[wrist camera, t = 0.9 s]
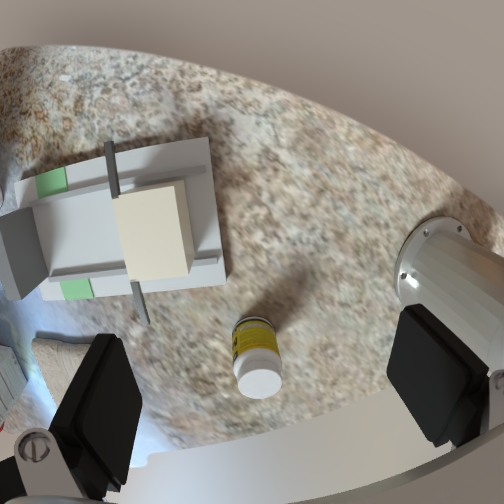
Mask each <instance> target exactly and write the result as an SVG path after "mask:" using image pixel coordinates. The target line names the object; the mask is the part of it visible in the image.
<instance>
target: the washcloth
mask: <svg viewBox="0 0 504 504" xmlns="http://www.w3.org/2000/svg"><path fill="white" fill-rule="evenodd" d="M90 346H91V344H69V343H64V342H62V341H58V340H52V339H51V340H50V339H43V338H34V339H33V340H32V350H33V352H34V355H35V358H36V360H37V363H38V366H39V367H40V371H41V372H42V375H43V377H44V380H45V382H46V385H47V387H48V389H49V391H50V394H51V395H52V397H53V399H54V401H55V403H56V405H57V407H59V405H60V403H61V401H62V399H63V397H64V395H65V393H66V391H67V389H68V387H69V385H70V383H71V381H72V379H73V377H74V375H75V373H76V371H77V369H78V368H79V366H80V364H81V362H82V360H83V358H84V356H85V355H86V353H87V351H88V349H89V347H90Z"/></svg>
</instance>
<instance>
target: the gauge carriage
mask: <svg viewBox="0 0 504 504" xmlns="http://www.w3.org/2000/svg"><path fill="white" fill-rule="evenodd" d="M104 150H105V158H106V165H107V172H108V179H109V186H110V192H111V198H112V203H113V209H114V214H115V219H116V224H117V229H118V234H119V239H120V243H121V248H122V252H123V256H124V261H125V265H126V269H127V273H128V277H129V281H130V284H131V288H132V292H133V295H134V299H135V302H136V306H137V309H138V313H139V316H140V319H141V323H142V326H148V325H149V324H150V319H149V316H148V312H147V309H146V305H145V301H144V298H143V294H142V290H141V286H140V282H139V281H145V280H154V279H164V278H173V277H182V276H189V273H190V270H191V267H192V263H193V260H194V257H195V250H194V244H193V238H192V232H191V225H190V219H189V212H188V205H187V198H186V191H185V184H184V180H178V181H171V182H165V183H159V184H153V185H147V186H141V187H136V188H131V189H128V190H126V191H124V192H121V191H120V185H119V179H118V172H117V165H116V157H115V149H114V141H108V142H104Z"/></svg>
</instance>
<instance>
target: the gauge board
mask: <svg viewBox="0 0 504 504" xmlns="http://www.w3.org/2000/svg"><path fill="white" fill-rule="evenodd" d="M115 157H116V165H117V172H118V179H119V185H120V191H121V192H124V191H126V190H128V189H131V188H136V187H141V186H147V185H153V184H159V183H165V182H171V181H178V180H184V184H185V191H186V198H187V205H188V212H189V219H190V225H191V232H192V238H193V244H194V250H195V257H194V260H193V263H192V267H191V270H190V273H189V276H182V277H173V278H164V279H154V280H145V281H139V282H140V286H141V290H142V293H147V292H157V291H167V290H177V289H187V288H196V287H205V286H214V285H223V284H227V278H226V271H225V264H224V257H223V249H222V242H221V235H220V227H219V219H218V212H217V204H216V196H215V188H214V180H213V171H212V163H211V154H210V145H209V137H202V138H195V139H188V140H182V141H176V142H170V143H164V144H159V145H153V146H148V147H143V148H138V149H133V150H129V151H124V152H119V153H115ZM14 187H15V193H16V199H17V204H18V210H16V211H13V212H11V213H8V214H6V215H3V216H1V217H0V280H1V283H2V286H3V289H4V291H5V294H6V297H7V300H8V301H14V300H22V299H23V298H24V297H25V296H27V295H28V294H29V293H30V292H31V291H32V290H33V289H35V288H36V287H37V286H38V285H39V288H40V291H41V294H42V296H43V299H44V301H50V300H64V299H65V300H75V299H88V298H94V297H103V296H114V295H126V294H133V292H132V288H131V284H130V281H129V277H128V273H127V269H126V265H125V261H124V256H123V252H122V248H121V243H120V239H119V234H118V229H117V224H116V219H115V214H114V209H113V203H112V198H111V192H110V186H109V179H108V172H107V165H106V158H105V156H102V157H98V158H94V159H90V160H87V161H83V162H79V163H76V164H72V165H68V166H65V167H61V168H58V169H54V170H51V171H48V172H45V173H42V174H39V175H35V176H33V177H30V178H27V179H24V180H21V181H18V182H16V183H14Z"/></svg>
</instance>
